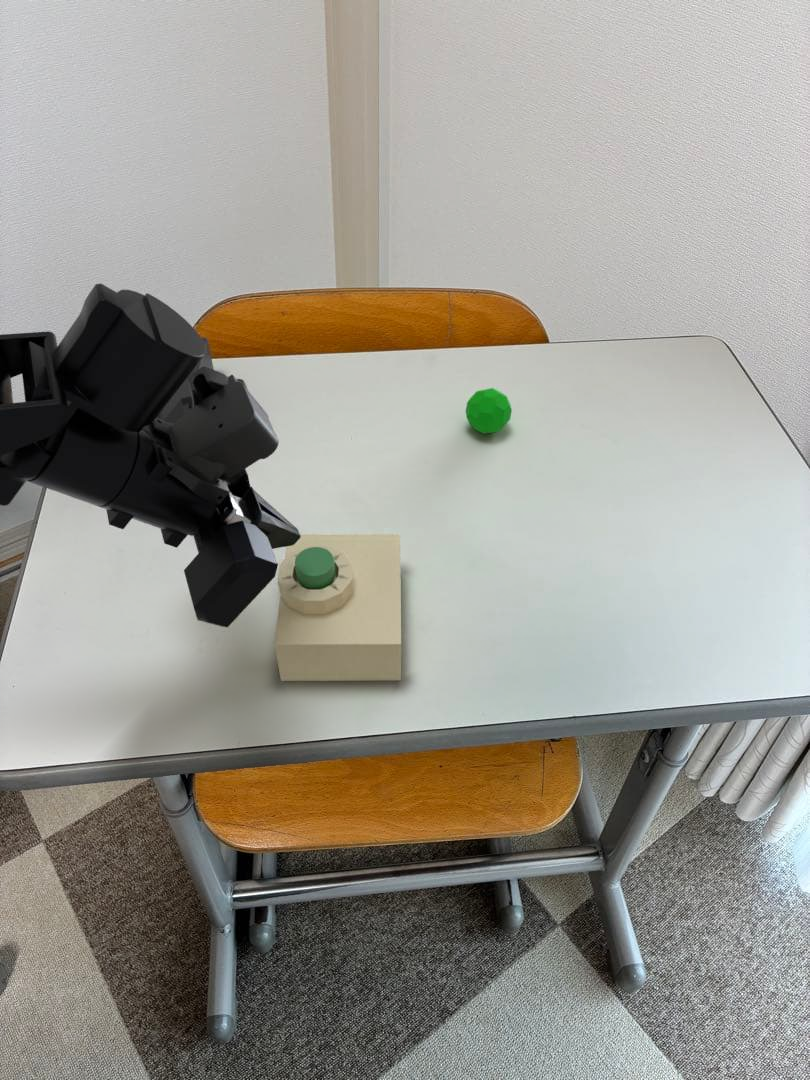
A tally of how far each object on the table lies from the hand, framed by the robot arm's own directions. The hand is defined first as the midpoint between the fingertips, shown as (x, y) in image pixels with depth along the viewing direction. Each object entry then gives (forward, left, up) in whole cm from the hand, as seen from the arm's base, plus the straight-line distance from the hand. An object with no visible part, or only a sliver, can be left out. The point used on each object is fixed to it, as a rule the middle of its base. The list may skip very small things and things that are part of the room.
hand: (296, 537), depth 62 cm
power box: (+3, 0, -11) cm, 12 cm away
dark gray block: (-18, +29, -11) cm, 36 cm away
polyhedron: (+18, +28, -12) cm, 35 cm away
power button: (+1, 0, -5) cm, 5 cm away
